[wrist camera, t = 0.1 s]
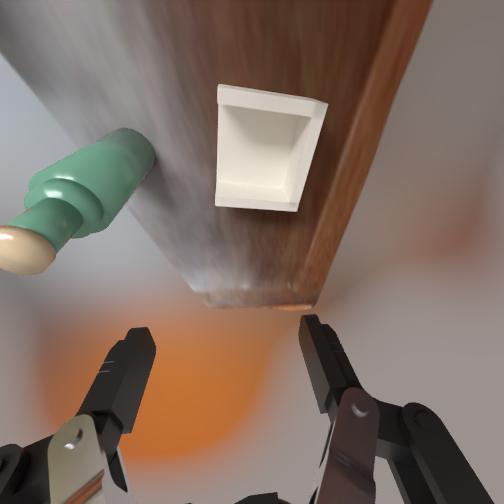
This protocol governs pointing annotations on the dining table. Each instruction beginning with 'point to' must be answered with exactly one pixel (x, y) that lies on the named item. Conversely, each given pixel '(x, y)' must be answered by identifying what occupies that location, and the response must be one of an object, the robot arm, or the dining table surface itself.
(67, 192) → the green bottle
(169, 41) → the dining table surface
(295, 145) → the holder
